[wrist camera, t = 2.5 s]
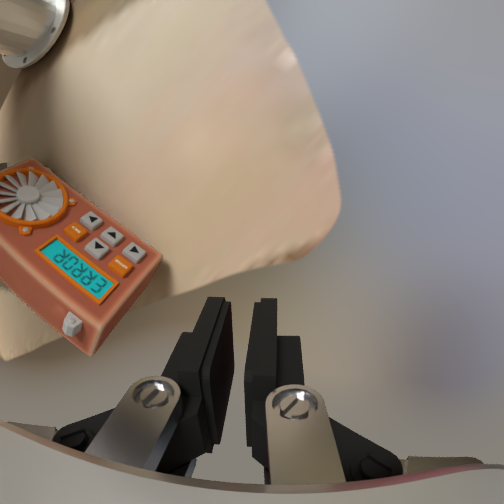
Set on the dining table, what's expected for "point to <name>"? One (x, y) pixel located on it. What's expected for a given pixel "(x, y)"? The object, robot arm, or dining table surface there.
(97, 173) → the dining table surface
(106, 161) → the dining table surface
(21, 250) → the control panel
